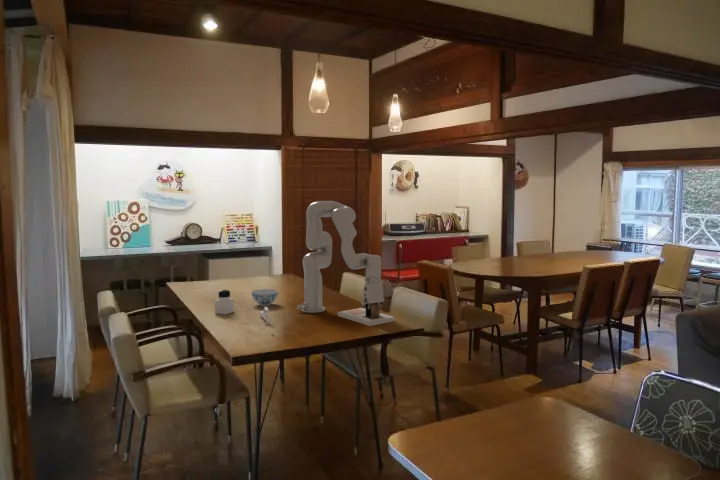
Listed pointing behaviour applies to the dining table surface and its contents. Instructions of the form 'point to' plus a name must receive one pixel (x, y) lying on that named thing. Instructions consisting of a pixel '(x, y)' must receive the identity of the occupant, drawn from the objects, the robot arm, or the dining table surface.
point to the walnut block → (374, 311)
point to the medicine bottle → (224, 303)
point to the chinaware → (264, 296)
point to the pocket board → (364, 317)
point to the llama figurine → (265, 314)
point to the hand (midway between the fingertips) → (372, 315)
